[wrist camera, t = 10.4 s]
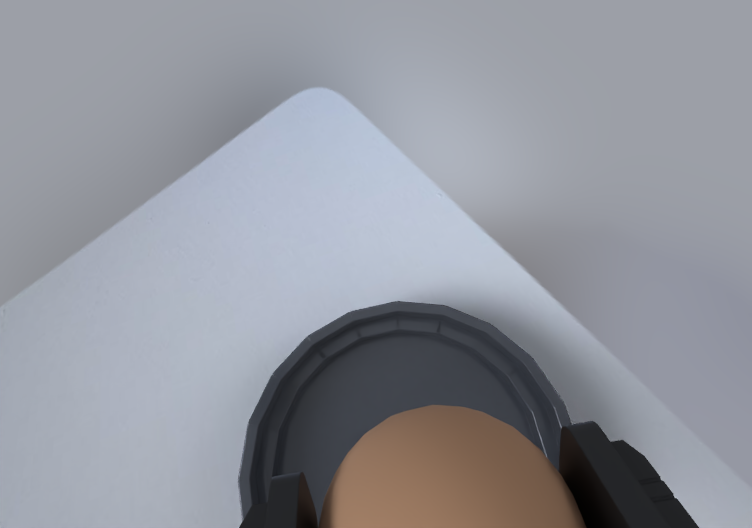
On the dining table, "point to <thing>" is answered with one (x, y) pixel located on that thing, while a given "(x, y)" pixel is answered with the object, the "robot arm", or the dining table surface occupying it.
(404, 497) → the egg
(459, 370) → the pan
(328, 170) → the dining table surface
